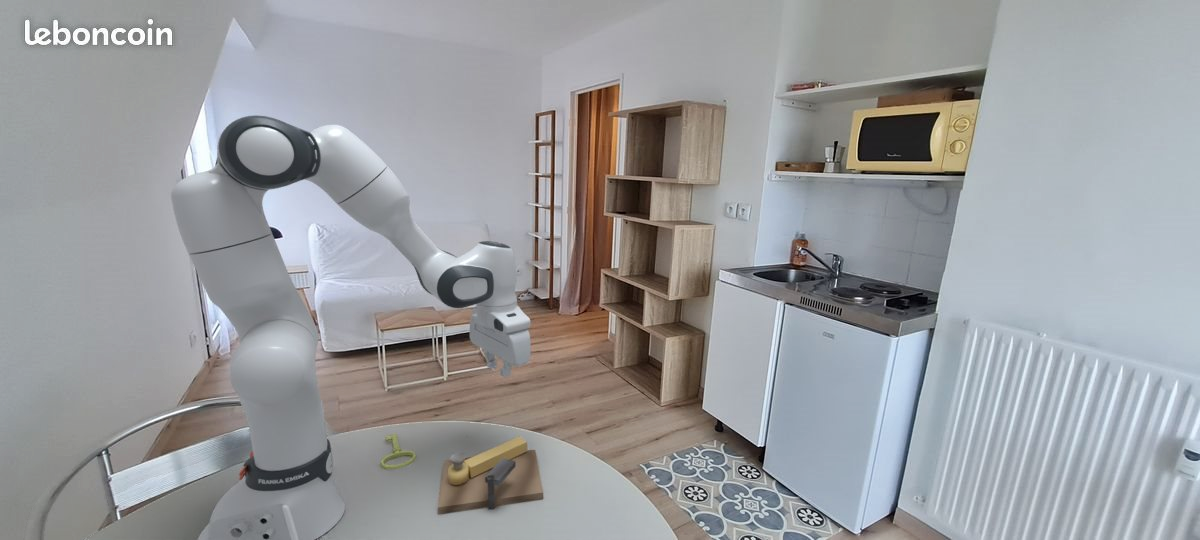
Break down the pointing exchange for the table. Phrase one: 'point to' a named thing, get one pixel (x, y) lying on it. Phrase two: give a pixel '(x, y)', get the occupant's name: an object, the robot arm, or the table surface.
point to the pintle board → (492, 484)
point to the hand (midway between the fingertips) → (498, 371)
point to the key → (396, 454)
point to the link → (486, 460)
